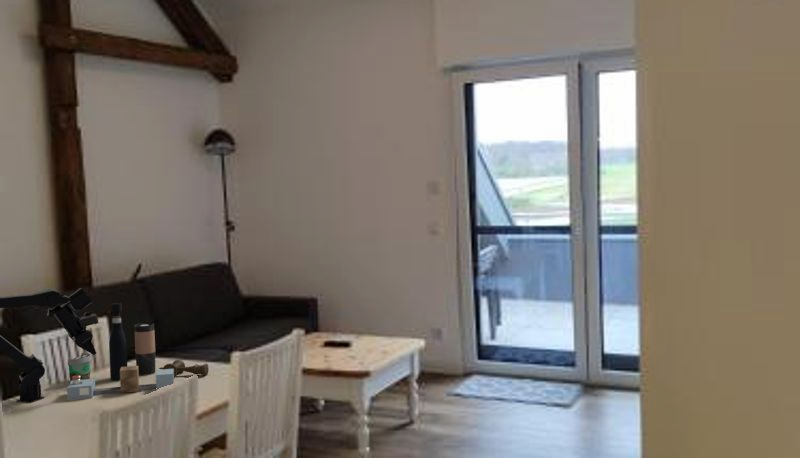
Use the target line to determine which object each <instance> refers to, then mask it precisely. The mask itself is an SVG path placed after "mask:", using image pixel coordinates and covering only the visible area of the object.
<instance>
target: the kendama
mask: <svg viewBox="0 0 800 458" xmlns="http://www.w3.org/2000/svg"><path fill="white" fill-rule="evenodd" d="M164 369H174V378H176V377H177V375H178V374H181V373H180V372H182V373H183V372H185V373H191V374H193V375H194V374H197V375H202V376H203V377H206V376H207V375H208V373H209V364H208V363H204V364H201V365H199V364H198V363H196V364H194V365H191V366H186V364H185V362H184V361H183V360H181V359H175V360H174V361H173V362H172V363H166V364H165V365H163V367H161V366H160V367H159V368H158V370H164Z"/></svg>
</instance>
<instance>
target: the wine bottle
mask: <svg viewBox="0 0 800 458" xmlns="http://www.w3.org/2000/svg"><path fill="white" fill-rule="evenodd" d="M110 308H111V309H110V312H111V313H112V320H111V321H112V323H111V333H110V336H109V339H108V340H109V342H108V349H109V355H108V356H109V374H110V375H109V376H110V381H120V369H121V367H128V350H127V348H128V347H127V338H126V334H125V332H124V330H123V321H122V318H121V312H122V310H123V309H122V308H123V307H122V302H113V303H110Z"/></svg>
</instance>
